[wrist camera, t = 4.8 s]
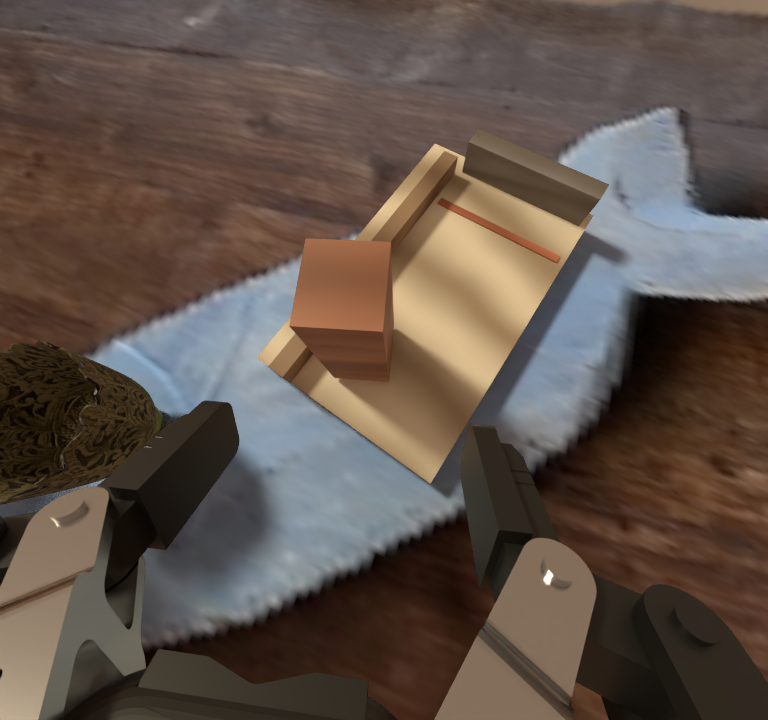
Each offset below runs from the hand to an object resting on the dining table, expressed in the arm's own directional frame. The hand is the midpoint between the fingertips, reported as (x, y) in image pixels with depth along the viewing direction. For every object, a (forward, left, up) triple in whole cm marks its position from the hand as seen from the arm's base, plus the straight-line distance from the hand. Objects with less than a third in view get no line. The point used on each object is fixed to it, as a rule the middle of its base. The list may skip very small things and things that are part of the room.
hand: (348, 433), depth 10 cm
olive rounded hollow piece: (-8, +14, -11) cm, 19 cm away
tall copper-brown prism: (+5, +4, -9) cm, 11 cm away
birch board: (+12, +3, -10) cm, 16 cm away
